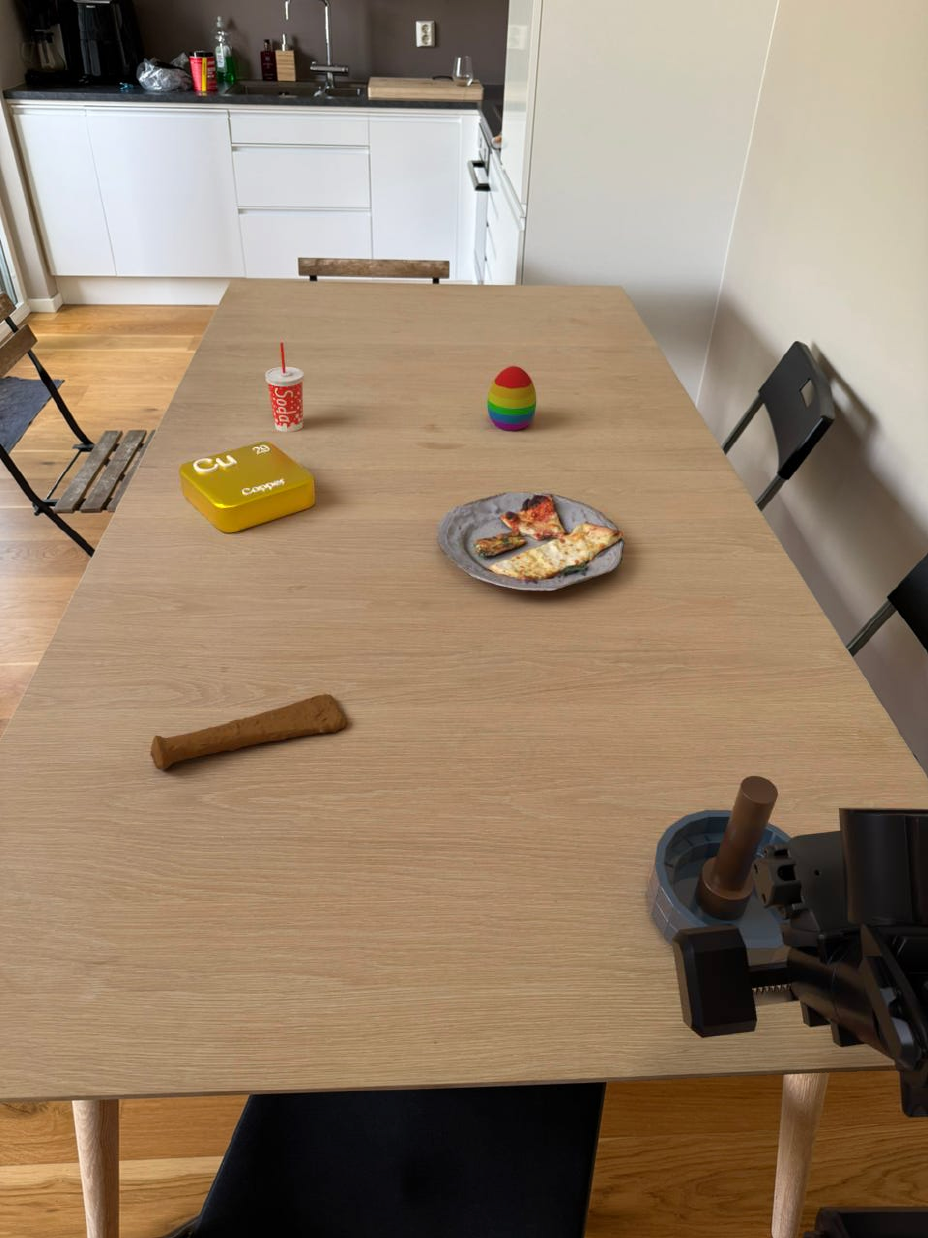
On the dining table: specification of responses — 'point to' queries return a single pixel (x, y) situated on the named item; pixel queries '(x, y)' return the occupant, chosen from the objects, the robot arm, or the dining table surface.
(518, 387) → the decorative egg
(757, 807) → the pestle
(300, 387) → the beverage cup
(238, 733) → the primitive tool
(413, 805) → the dining table surface
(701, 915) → the bowl
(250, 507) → the element tile
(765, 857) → the robot arm
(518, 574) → the food plate
